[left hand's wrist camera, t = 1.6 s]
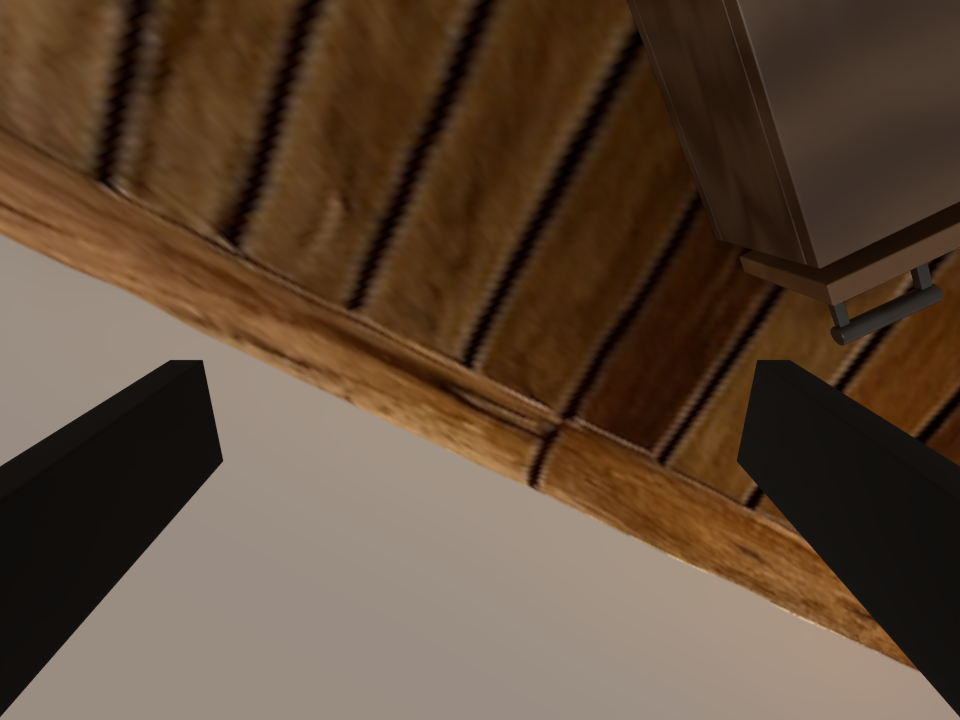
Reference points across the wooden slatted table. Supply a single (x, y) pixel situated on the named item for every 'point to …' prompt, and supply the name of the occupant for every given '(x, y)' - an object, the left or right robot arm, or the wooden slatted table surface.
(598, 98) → the wooden slatted table surface
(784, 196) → the cabinet
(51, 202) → the wooden slatted table surface
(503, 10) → the wooden slatted table surface
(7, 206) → the wooden slatted table surface
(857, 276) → the drawer
